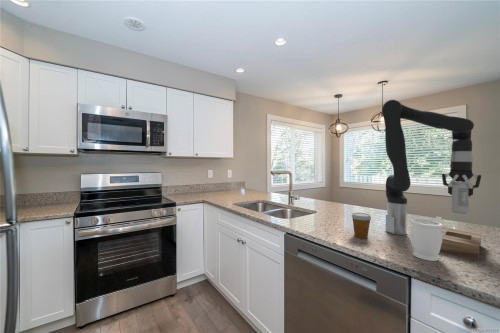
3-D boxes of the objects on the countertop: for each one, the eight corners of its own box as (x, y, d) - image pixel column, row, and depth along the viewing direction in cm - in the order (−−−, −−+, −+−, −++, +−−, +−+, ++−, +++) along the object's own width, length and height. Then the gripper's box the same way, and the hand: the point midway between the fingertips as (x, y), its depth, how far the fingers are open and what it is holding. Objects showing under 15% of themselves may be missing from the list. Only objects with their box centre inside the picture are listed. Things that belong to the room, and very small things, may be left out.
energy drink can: (461, 211, 106) (463, 181, 106) (471, 214, 101) (472, 183, 100) (447, 211, 108) (448, 181, 107) (456, 213, 102) (457, 182, 101)
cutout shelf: (478, 260, 87) (479, 246, 87) (433, 250, 98) (434, 237, 98) (480, 245, 103) (480, 233, 103) (441, 238, 114) (442, 226, 113)
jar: (403, 252, 95) (404, 218, 95) (425, 251, 96) (425, 218, 96) (425, 263, 85) (426, 225, 84) (449, 262, 85) (449, 225, 85)
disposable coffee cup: (370, 235, 118) (370, 213, 117) (371, 240, 109) (372, 217, 109) (351, 232, 122) (351, 211, 121) (351, 237, 113) (351, 215, 113)
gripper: (483, 161, 101) (481, 196, 101) (442, 161, 111) (441, 193, 112) (483, 160, 96) (481, 198, 96) (440, 160, 106) (439, 194, 107)
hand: (460, 195), depth 104 cm, fingers closed on energy drink can, 6 cm apart
